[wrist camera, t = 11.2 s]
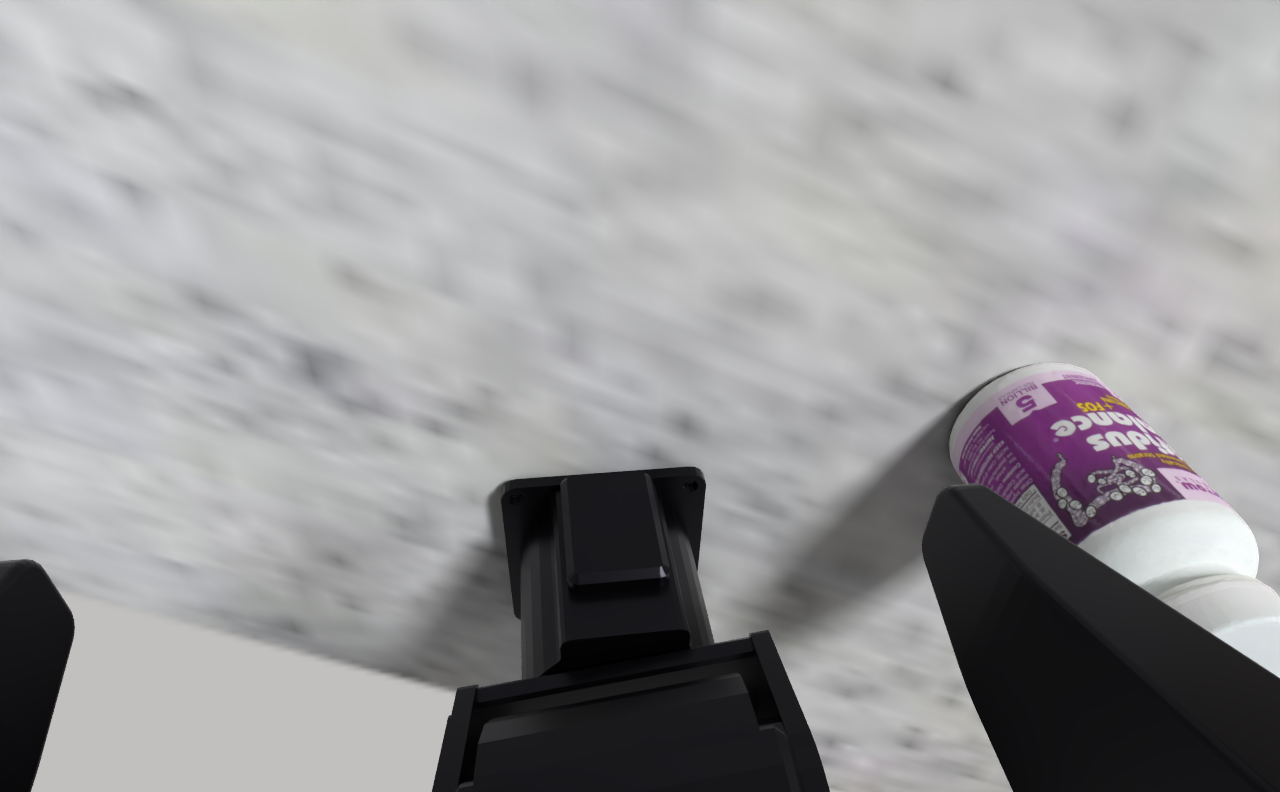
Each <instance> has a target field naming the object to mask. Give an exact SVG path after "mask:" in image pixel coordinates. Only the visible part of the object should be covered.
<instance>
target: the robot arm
mask: <svg viewBox="0 0 1280 792" xmlns="http://www.w3.org/2000/svg"><path fill="white" fill-rule="evenodd" d="M688 481H694V482H692V483H690V484H685V483H686V482H688ZM705 489H706V483H705V479H704V476H703V473H702V471H701V470H700V469H698V468H696V467H678V468H664V469H651V470H637V471H623V472H610V473H596V474H582V475H569V476H555V477H541V478H527V479H515V480H511V481H509V482H507V483H505V484H504V486H503V487H502V491H501V504H502V512H503V521H504V530H505V538H506V547H507V556H508V564H509V573H510V581H511V590H512V599H513V607H514V614H515V616H516V617H517V618H518V619H520V620H521V651H522V680H517V681H512V682H506V683H501V684H496V685H491V686H485V687H480V688H479V686H478V685H472V686H467V687H462V688H458V689H457V692H456V696H455V701H454V706H453V710H452V715H450V716H449V717H448V720H447V725H446V730H445V734H444V739H443V743H442V748H441V753H440V757H439V762H438V766H437V771H436V775H435V780H434V785H433V789H432V792H830V790H829V786H828V783H827V779H826V776H825V772H824V769H823V765H822V762H821V759H820V756H819V753H818V750H817V747H816V744H815V742H814V739H813V736H812V734H811V731H810V729H809V726H808V724H807V721H806V719H805V717H804V714H803V712H802V709H801V707H800V705H799V702H798V700H797V697H796V695H795V693H794V690H793V688H792V685H791V683H790V681H789V678H788V676H787V673H786V671H785V669H784V666H783V664H782V661H781V659H780V657H779V654H778V652H777V649H776V647H775V645H774V642H773V640H772V637H771V635H770V633H769V631H768V630H766V631H760V632H755V633H750V634H749V637H746V638H741V639H736V640H730V641H725V642H720V643H714V639H713V635H712V631H711V627H710V623H709V619H708V614H707V610H706V606H705V602H704V598H703V594H702V590H701V586H700V582H699V578H698V573H697V570H698V560H699V550H700V540H701V530H702V520H703V510H704V499H705ZM514 494H521V495H522V496H519V497H514V496H512V495H514ZM922 552H923V558H924V561H925V564H926V567H927V570H928V574H929V577H930V580H931V583H932V586H933V589H934V592H935V595H936V598H937V601H938V604H939V607H940V610H941V613H942V616H943V619H944V622H945V625H946V628H947V631H948V634H949V637H950V640H951V643H952V646H953V649H954V652H955V656H956V659H957V662H958V665H959V668H960V670H961V673H962V676H963V679H964V681H965V684H966V687H967V689H968V692H969V694H970V696H971V699H972V701H973V704H974V706H975V708H976V711H977V713H978V715H979V717H980V719H981V722H982V724H983V726H984V728H985V730H986V733H987V735H988V737H989V739H990V741H991V744H992V746H993V748H994V750H995V753H996V755H997V757H998V759H999V761H1000V764H1001V766H1002V768H1003V770H1004V772H1005V775H1006V777H1007V779H1008V781H1009V783H1010V786H1011V788H1012V790H1013V792H1280V678H1279V677H1278V676H1276V675H1275V674H1273V673H1272V672H1270V671H1269V670H1267V669H1265V668H1264V667H1262V666H1261V665H1259V664H1258V663H1256V662H1255V661H1253V660H1252V659H1250V658H1249V657H1247V656H1246V655H1244V654H1242V653H1241V652H1239V651H1238V650H1236V649H1235V648H1233V647H1232V646H1230V645H1229V644H1227V643H1226V642H1224V641H1223V640H1221V639H1219V638H1218V637H1216V636H1215V635H1213V634H1212V633H1210V632H1209V631H1207V630H1206V629H1204V628H1203V627H1201V626H1200V625H1198V624H1196V623H1195V622H1193V621H1192V620H1190V619H1189V618H1187V617H1186V616H1184V615H1183V614H1181V613H1180V612H1178V611H1177V610H1175V609H1174V608H1172V607H1170V606H1169V605H1167V604H1166V603H1164V602H1163V601H1161V600H1160V599H1158V598H1157V597H1155V596H1154V595H1152V594H1151V593H1149V592H1147V591H1146V590H1144V589H1143V588H1141V587H1140V586H1138V585H1137V584H1135V583H1134V582H1132V581H1131V580H1129V579H1128V578H1126V577H1124V576H1123V575H1121V574H1120V573H1118V572H1117V571H1115V570H1114V569H1112V568H1111V567H1109V566H1108V565H1106V564H1105V563H1103V562H1101V561H1100V560H1098V559H1097V558H1095V557H1094V556H1092V555H1091V554H1089V553H1088V552H1086V551H1085V550H1083V549H1082V548H1080V547H1078V546H1077V545H1075V544H1074V543H1072V542H1071V541H1069V540H1068V539H1066V538H1065V537H1063V536H1062V535H1060V534H1059V533H1057V532H1056V531H1054V530H1052V529H1051V528H1049V527H1048V526H1046V525H1045V524H1043V523H1042V522H1040V521H1039V520H1037V519H1036V518H1034V517H1033V516H1031V515H1029V514H1028V513H1026V512H1025V511H1023V510H1022V509H1020V508H1019V507H1017V506H1016V505H1014V504H1013V503H1011V502H1010V501H1008V500H1006V499H1005V498H1003V497H1002V496H1000V495H999V494H997V493H996V492H994V491H993V490H991V489H990V488H988V487H986V486H984V485H982V484H977V483H972V484H959V485H948V486H945V487H943V488H942V489H941V490H940V491H939V493H938V495H937V497H936V500H935V503H934V506H933V509H932V512H931V515H930V518H929V521H928V524H927V527H926V529H925V532H924V535H923V541H922ZM74 629H75V626H74V619H73V615H72V612H71V610H70V609H69V607H68V606H67V604H66V602H65V601H64V599H63V598H62V596H61V595H60V593H59V591H58V590H57V588H56V587H55V585H54V584H53V582H52V581H51V579H50V578H49V576H48V575H47V573H46V571H45V570H44V568H43V567H42V566H41V565H40V564H38V563H36V562H35V561H33V560H28V559H22V560H10V561H0V792H31V789H32V786H33V783H34V780H35V777H36V773H37V770H38V767H39V763H40V760H41V756H42V752H43V748H44V744H45V741H46V737H47V734H48V730H49V726H50V723H51V719H52V715H53V712H54V708H55V704H56V701H57V697H58V693H59V690H60V686H61V682H62V678H63V675H64V671H65V668H66V664H67V660H68V657H69V653H70V649H71V646H72V642H73V638H74Z"/></svg>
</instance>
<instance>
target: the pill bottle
mask: <svg viewBox="0 0 1280 792" xmlns="http://www.w3.org/2000/svg"><path fill="white" fill-rule="evenodd" d="M949 451H950V459H951V462H952V464H953V466H954V468H955V470H956V472H957V474H958V475H959V477H960V479H961V480H962V482H963V483H964V484H972V483H977V484H982V485H984V486H986V487H988V488H990V489H991V490H993V491H994V492H996V493H997V494H999V495H1000V496H1002V497H1003V498H1005V499H1006V500H1008V501H1010V502H1011V503H1013V504H1014V505H1016V506H1017V507H1019V508H1020V509H1022V510H1023V511H1025V512H1026V513H1028V514H1029V515H1031V516H1033V517H1034V518H1036V519H1037V520H1039V521H1040V522H1042V523H1043V524H1045V525H1046V526H1048V527H1049V528H1051V529H1052V530H1054V531H1056V532H1057V533H1059V534H1060V535H1062V536H1063V537H1065V538H1066V539H1068V540H1069V541H1071V542H1072V543H1074V544H1075V545H1077V546H1078V547H1080V548H1082V549H1083V550H1085V551H1086V552H1088V553H1089V554H1091V555H1092V556H1094V557H1095V558H1097V559H1098V560H1100V561H1101V562H1103V563H1105V564H1106V565H1108V566H1109V567H1111V568H1112V569H1114V570H1115V571H1117V572H1118V573H1120V574H1121V575H1123V576H1124V577H1126V578H1128V579H1129V580H1131V581H1132V582H1134V583H1135V584H1137V585H1138V586H1140V587H1141V588H1143V589H1144V590H1146V591H1147V592H1149V593H1151V594H1152V595H1154V596H1155V597H1157V598H1158V599H1160V600H1161V601H1163V602H1164V603H1166V604H1167V605H1169V606H1170V607H1172V608H1174V609H1175V610H1177V611H1178V612H1180V613H1181V614H1183V615H1184V616H1186V617H1187V618H1189V619H1190V620H1192V621H1193V622H1195V623H1196V624H1198V625H1200V626H1201V627H1203V628H1204V629H1206V630H1207V631H1209V632H1210V633H1212V634H1213V635H1215V636H1216V637H1218V638H1219V639H1221V640H1223V641H1224V642H1226V643H1227V644H1229V645H1230V646H1232V647H1233V648H1235V649H1236V650H1238V651H1239V652H1241V653H1242V654H1244V655H1246V656H1247V657H1249V658H1250V659H1252V660H1253V661H1255V662H1256V663H1258V664H1259V665H1261V666H1262V667H1264V668H1265V669H1267V670H1269V671H1270V672H1272V673H1273V674H1275V675H1276V676H1278V677H1279V678H1280V597H1279V596H1278V595H1277V594H1276V592H1275V591H1274V590H1273V589H1272V588H1270V587H1269V586H1267V585H1265V584H1263V583H1262V582H1260V581H1259V580H1257V579H1255V577H1256V574H1257V570H1258V562H1259V555H1258V548H1257V544H1256V541H1255V538H1254V535H1253V533H1252V532H1251V530H1250V528H1249V527H1248V525H1247V524H1246V523H1245V522H1244V520H1243V519H1242V518H1241V517H1240V516H1239V515H1238V514H1237V513H1236V512H1235V511H1234V510H1233V509H1232V507H1231V506H1230V505H1229V504H1228V503H1227V502H1225V501H1224V500H1223V499H1222V498H1221V497H1220V496H1219V495H1218V494H1217V493H1216V492H1215V491H1214V490H1213V489H1212V488H1211V487H1210V486H1209V485H1208V484H1207V483H1206V482H1205V481H1204V480H1203V479H1202V478H1201V477H1200V476H1198V475H1197V474H1196V473H1195V472H1194V471H1193V470H1192V469H1191V468H1190V467H1189V466H1188V465H1187V464H1186V463H1185V461H1184V460H1183V459H1182V458H1180V457H1179V456H1178V455H1177V454H1176V453H1175V452H1174V451H1173V450H1172V448H1171V447H1170V446H1169V445H1168V444H1167V443H1166V442H1165V441H1164V440H1163V439H1162V438H1161V437H1160V436H1159V435H1157V434H1156V433H1155V432H1154V431H1153V430H1152V429H1151V428H1150V427H1149V426H1148V425H1147V424H1146V423H1145V422H1144V421H1143V420H1142V419H1141V418H1139V417H1138V416H1137V415H1136V414H1135V413H1134V412H1133V411H1132V410H1131V409H1130V408H1129V407H1128V406H1127V405H1126V404H1125V403H1124V402H1123V401H1122V400H1121V399H1120V398H1119V397H1118V396H1117V395H1115V394H1114V393H1113V392H1112V391H1111V390H1110V389H1109V388H1108V387H1107V386H1106V385H1105V384H1104V383H1103V382H1102V381H1101V380H1100V379H1099V378H1098V377H1096V376H1095V375H1094V374H1092V373H1091V372H1089V371H1088V370H1086V369H1084V368H1081V367H1078V366H1073V365H1070V364H1067V363H1038V364H1034V365H1030V366H1026V367H1022V368H1020V369H1017V370H1015V371H1012V372H1010V373H1008V374H1006V375H1004V376H1002V377H1000V378H998V379H996V380H994V381H993V382H991V383H990V384H988V385H987V386H986V387H984V388H983V389H982V390H980V391H979V392H978V393H977V394H976V395H975V396H974V397H973V398H972V399H971V400H970V401H969V402H968V403H967V405H966V406H965V408H964V409H963V411H962V412H961V413H960V414H959V416H958V418H957V420H956V422H955V424H954V426H953V429H952V432H951V435H950V441H949Z"/></svg>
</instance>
